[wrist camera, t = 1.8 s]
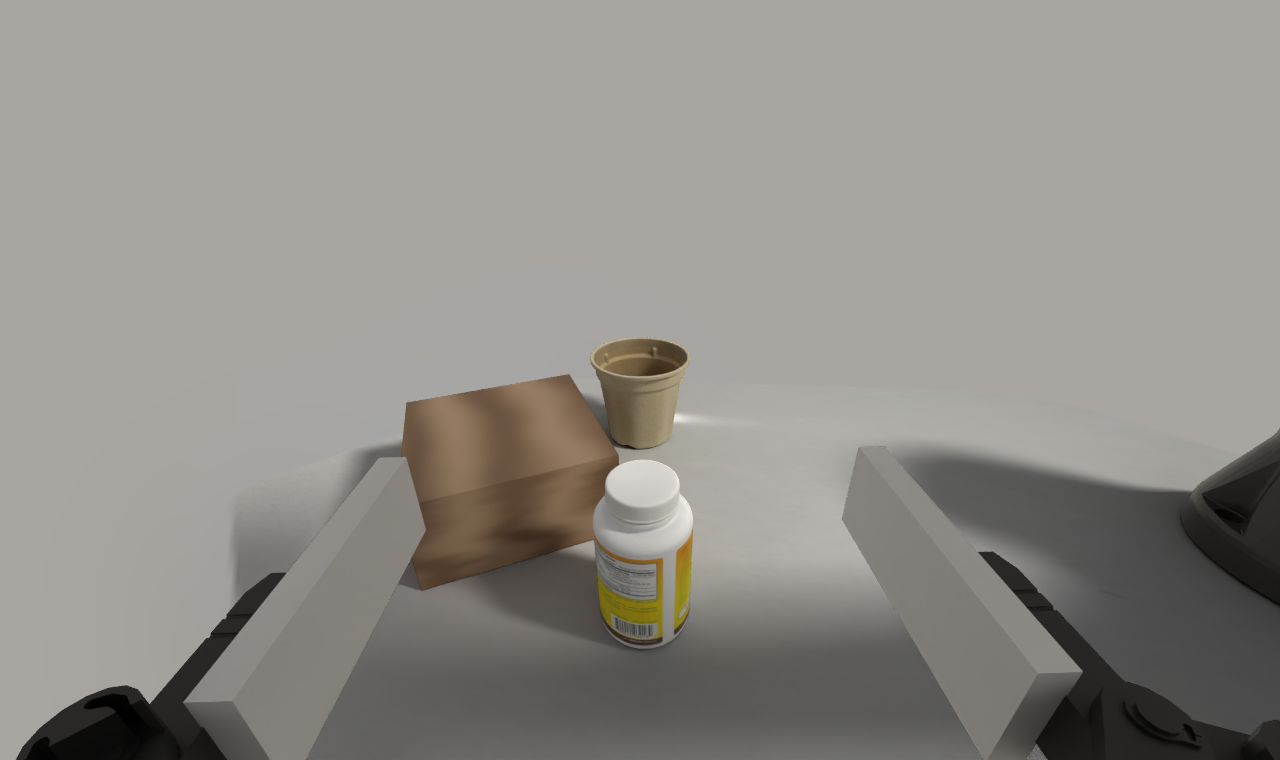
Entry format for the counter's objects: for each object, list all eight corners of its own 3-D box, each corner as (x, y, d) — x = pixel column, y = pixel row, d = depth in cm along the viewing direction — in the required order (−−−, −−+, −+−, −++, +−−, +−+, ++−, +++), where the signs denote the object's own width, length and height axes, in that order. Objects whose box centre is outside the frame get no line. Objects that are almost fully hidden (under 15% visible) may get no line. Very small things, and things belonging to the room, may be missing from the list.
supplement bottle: (664, 564, 33) (666, 441, 28) (705, 632, 28) (716, 497, 24) (587, 592, 31) (576, 464, 26) (618, 670, 26) (611, 531, 22)
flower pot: (706, 431, 48) (711, 353, 44) (643, 473, 42) (641, 387, 38) (640, 401, 54) (639, 330, 50) (576, 434, 48) (569, 356, 44)
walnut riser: (574, 437, 47) (569, 374, 44) (621, 531, 36) (618, 454, 32) (424, 470, 43) (406, 402, 40) (421, 590, 31) (395, 508, 28)
